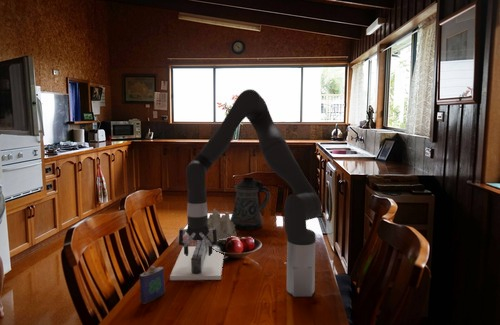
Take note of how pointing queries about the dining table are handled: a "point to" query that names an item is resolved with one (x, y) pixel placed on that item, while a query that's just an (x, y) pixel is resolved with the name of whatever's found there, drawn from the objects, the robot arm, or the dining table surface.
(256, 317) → the dining table surface
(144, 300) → the flask
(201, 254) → the arm
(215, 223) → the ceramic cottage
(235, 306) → the dining table surface
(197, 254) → the tongs arm
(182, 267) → the cutting board
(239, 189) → the beer stein
